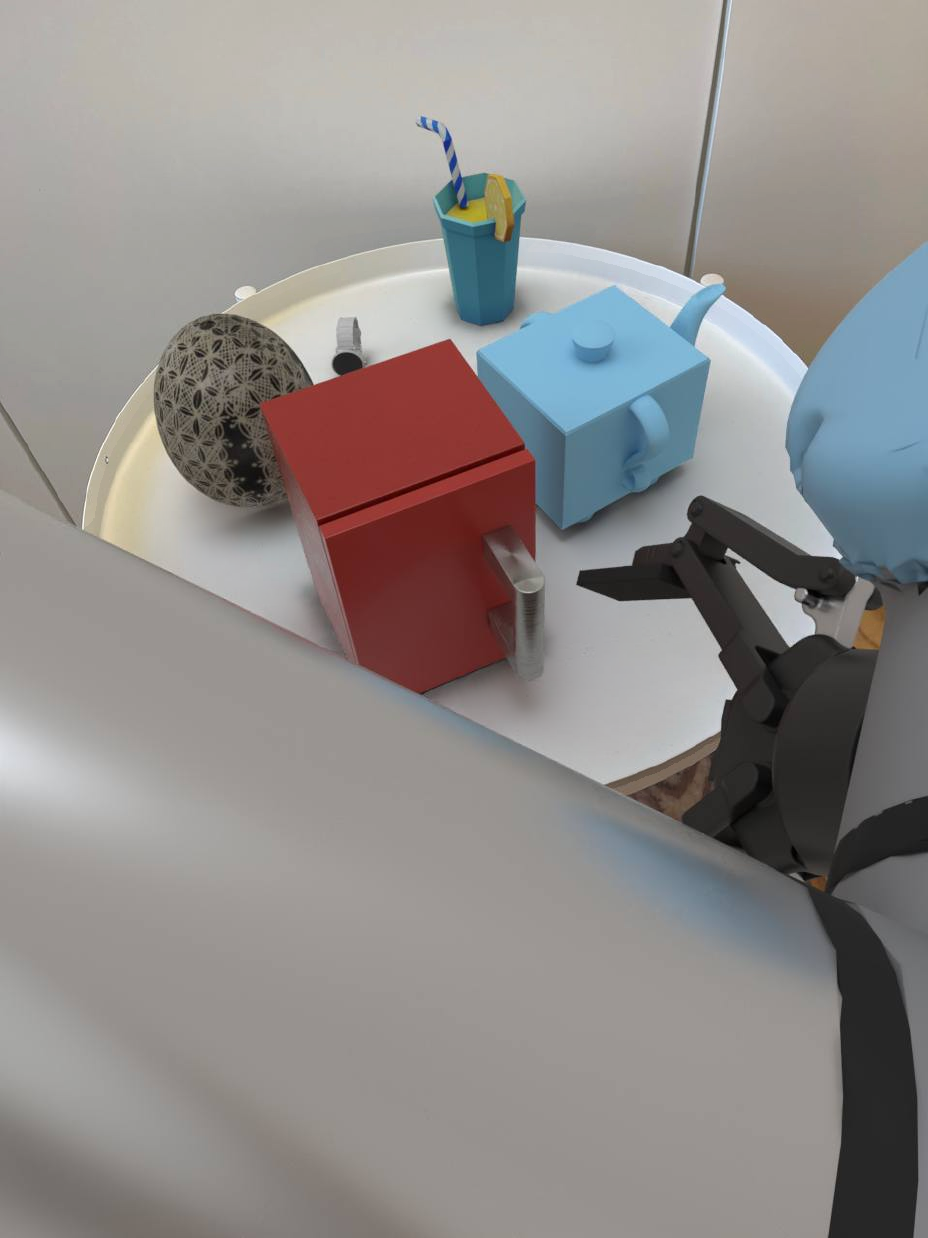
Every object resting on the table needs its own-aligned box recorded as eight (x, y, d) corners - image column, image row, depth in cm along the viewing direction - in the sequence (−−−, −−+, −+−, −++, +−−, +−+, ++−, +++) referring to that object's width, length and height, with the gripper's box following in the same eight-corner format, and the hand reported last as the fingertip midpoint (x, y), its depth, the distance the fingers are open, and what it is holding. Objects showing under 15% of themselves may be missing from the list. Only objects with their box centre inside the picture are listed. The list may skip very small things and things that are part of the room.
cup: (400, 284, 90) (379, 125, 78) (466, 251, 93) (455, 92, 81) (492, 358, 84) (484, 196, 71) (560, 320, 86) (564, 157, 74)
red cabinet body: (527, 633, 67) (525, 442, 52) (366, 700, 64) (316, 520, 50) (467, 534, 72) (450, 337, 57) (316, 593, 70) (258, 402, 55)
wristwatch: (336, 391, 82) (326, 343, 78) (340, 353, 85) (330, 305, 81) (370, 389, 82) (361, 341, 78) (373, 351, 85) (365, 303, 81)
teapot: (583, 566, 70) (592, 435, 59) (464, 443, 78) (454, 308, 67) (769, 460, 75) (808, 321, 64) (640, 354, 83) (656, 216, 72)
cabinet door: (569, 701, 63) (580, 521, 49) (400, 774, 61) (358, 608, 46) (529, 634, 66) (527, 447, 52) (366, 701, 64) (318, 525, 50)
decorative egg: (197, 557, 72) (128, 405, 60) (181, 451, 79) (117, 295, 67) (349, 519, 74) (312, 363, 62) (321, 418, 80) (283, 259, 68)
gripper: (961, 1231, 28) (567, 987, 47) (1105, 428, 31) (683, 504, 50) (772, 1225, 25) (432, 965, 44) (954, 332, 28) (565, 452, 47)
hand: (566, 718), depth 47 cm, fingers open, 13 cm apart
